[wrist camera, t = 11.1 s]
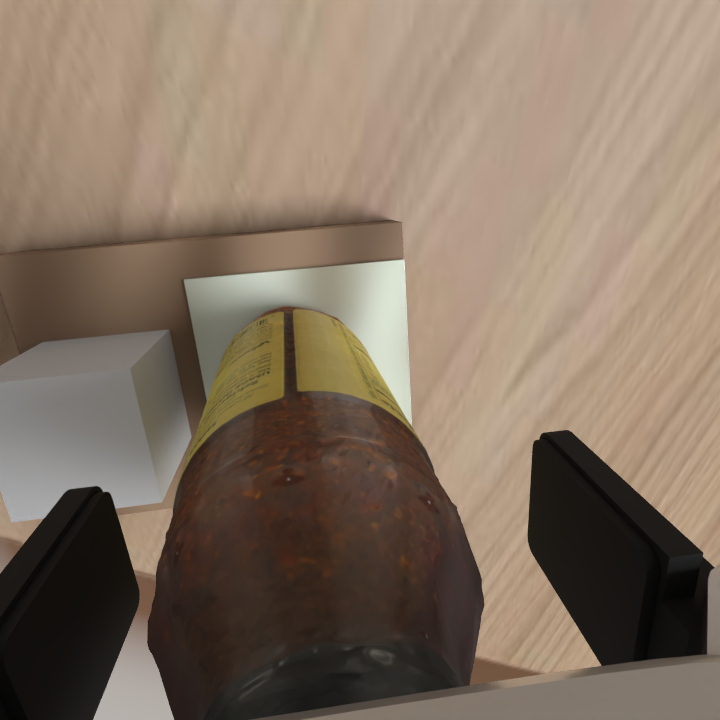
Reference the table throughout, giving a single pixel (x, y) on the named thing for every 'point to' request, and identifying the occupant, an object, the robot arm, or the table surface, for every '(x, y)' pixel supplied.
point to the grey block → (91, 421)
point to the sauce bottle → (308, 539)
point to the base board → (216, 297)
